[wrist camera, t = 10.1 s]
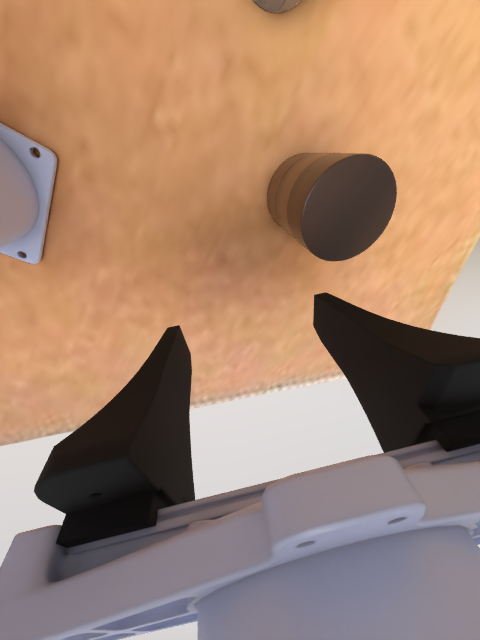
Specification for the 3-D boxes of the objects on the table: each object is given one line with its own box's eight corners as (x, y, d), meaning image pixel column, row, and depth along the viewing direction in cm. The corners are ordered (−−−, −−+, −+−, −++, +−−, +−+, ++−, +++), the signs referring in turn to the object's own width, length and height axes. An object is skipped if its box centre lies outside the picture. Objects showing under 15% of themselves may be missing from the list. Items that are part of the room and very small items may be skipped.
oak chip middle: (272, 238, 17) (281, 249, 15) (280, 152, 14) (293, 152, 12) (338, 236, 18) (355, 246, 16) (358, 153, 15) (382, 154, 13)
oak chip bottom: (254, 208, 18) (261, 215, 16) (294, 135, 16) (308, 133, 14) (303, 240, 20) (315, 249, 18) (345, 180, 18) (364, 183, 16)
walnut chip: (269, 223, 14) (281, 234, 12) (326, 130, 12) (351, 126, 10) (329, 261, 16) (347, 275, 15) (386, 187, 14) (416, 193, 12)
